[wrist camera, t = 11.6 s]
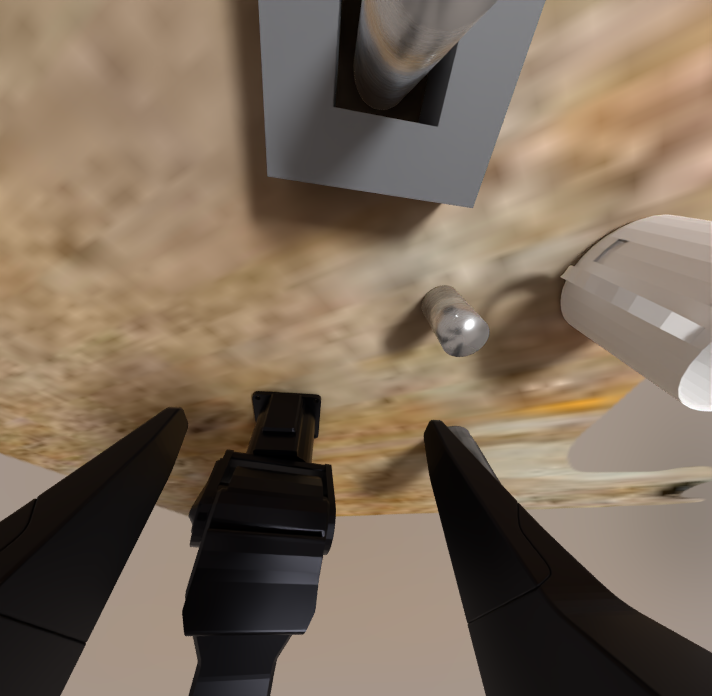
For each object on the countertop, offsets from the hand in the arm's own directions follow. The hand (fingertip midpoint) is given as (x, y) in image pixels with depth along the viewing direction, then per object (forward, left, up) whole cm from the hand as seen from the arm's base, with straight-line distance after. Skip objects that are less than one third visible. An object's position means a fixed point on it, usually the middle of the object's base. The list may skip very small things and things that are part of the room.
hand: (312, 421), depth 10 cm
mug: (+4, -21, -12) cm, 25 cm away
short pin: (0, -9, -12) cm, 15 cm away
